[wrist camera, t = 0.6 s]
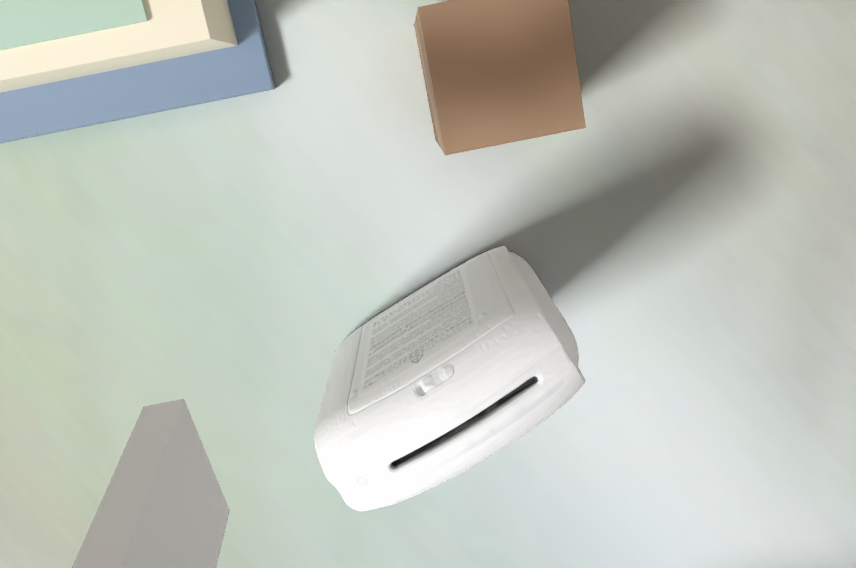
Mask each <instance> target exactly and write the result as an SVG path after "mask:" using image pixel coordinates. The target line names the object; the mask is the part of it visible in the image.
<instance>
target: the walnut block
mask: <svg viewBox="0 0 856 568" xmlns="http://www.w3.org/2000/svg"><path fill="white" fill-rule="evenodd" d="M414 26H415V31H416V37H417V42H418V47H419V53H420V58H421V64H422V69H423V74H424V80H425V85H426V91H427V96H428V101H429V107H430V112H431V117H432V123H433V128H434V134H435V139H436V141H437V143H438V144H439V146H440V148H441V149H442V151H443V152H444V154H445V155H449V154H454V153H459V152H464V151H469V150H474V149H479V148H485V147H490V146H495V145H500V144H505V143H510V142H515V141H520V140H525V139H531V138H536V137H541V136H546V135H551V134H556V133H561V132H566V131H572V130H577V129H582V128H586V126H585V119H584V112H583V105H582V97H581V90H580V83H579V76H578V68H577V61H576V54H575V47H574V39H573V32H572V25H571V18H570V10H569V3H568V0H452V1H447V2H442V3H437V4H432V5H427V6H422V7H418V10H417V15H416V19H415V24H414Z"/></svg>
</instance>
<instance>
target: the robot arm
mask: <svg viewBox="0 0 856 568" xmlns="http://www.w3.org/2000/svg"><path fill="white" fill-rule="evenodd" d="M229 511H230V510H229V508H228V506H227V503H226V501H225V498H224V496H223V493H222V491H221V488H220V486H219V484H218V481H217V479H216V476H215V474H214V471H213V469H212V466H211V464H210V462H209V459H208V457H207V454H206V452H205V449H204V447H203V444H202V442H201V440H200V437H199V435H198V432H197V430H196V427H195V425H194V422H193V420H192V418H191V415H190V413H189V410H188V408H187V405H186V403H185V400H184V399H181V400H176V401H171V402H166V403H161V404H155V405H150V406H145V407H143V409H142V411H141V413H140V416H139V418H138V420H137V422H136V425H135V427H134V429H133V431H132V434H131V436H130V438H129V440H128V443H127V445H126V447H125V449H124V452H123V454H122V456H121V458H120V461H119V463H118V465H117V467H116V470H115V472H114V474H113V476H112V479H111V481H110V483H109V485H108V488H107V490H106V492H105V494H104V497H103V499H102V501H101V503H100V506H99V508H98V510H97V512H96V515H95V517H94V519H93V521H92V524H91V526H90V528H89V530H88V533H87V535H86V537H85V539H84V542H83V544H82V546H81V548H80V551H79V553H78V555H77V558H76V560H75V562H74V564H73V567H72V568H216V566H217V562H218V558H219V553H220V549H221V545H222V541H223V536H224V532H225V528H226V523H227V519H228V515H229Z"/></svg>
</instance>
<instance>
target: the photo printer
mask: <svg viewBox="0 0 856 568" xmlns="http://www.w3.org/2000/svg"><path fill="white" fill-rule="evenodd" d="M578 360H579V358H578V348H577V343H576V340H575V337H574V335H573V333H572V331H571V329H570V328H569V326H568V324H567V323H566V321H565V319H564V318H563V316H562V315H561V313H560V311H559V310H558V308H557V307H556V305H555V304H554V302H553V300H552V299H551V297H550V296H549V294H548V292H547V291H546V289H545V288H544V286H543V284H542V283H541V281H540V280H539V278H538V277H537V275H536V274H535V272H534V271H533V269H532V268H531V266H530V265H529V264H528V263H527V261H525V260H524V259H523V258H522V257H520V256H519V255H517V254H515V253H513V252H510V251H508V249H507V248H506V246H500V247H497V248H494V249H491V250H489V251H486V252H484V253H482V254H480V255H478V256H476V257H474V258H472V259H470V260H468V261H466V262H465V263H463V264H461V265H459V266H458V267H456V268H454V269H452V270H451V271H449V272H448V273H446V274H444V275H442V276H441V277H439V278H437V279H436V280H434V281H432V282H431V283H429V284H427V285H426V286H424V287H422V288H421V289H419V290H417V291H416V292H414V293H412V294H411V295H409V296H408V297H406V298H404V299H403V300H401V301H400V302H398V303H396V304H394V305H393V306H392V307H390V308H388V309H387V310H385V311H384V312H382V313H380V314H379V315H377V316H376V317H374V318H373V319H371V320H370V321H368V322H367V323H365V324H364V325H362V326H361V327H359V328H358V329H357V330H355V331H354V332H353V333H351V334H350V335H349V336H348V337H347V338H346V339H345V340H344V341H343V342H342V343H341V344H340V345H339V346H338V347H337V349H336V351H335V355H334V359H333V363H332V367H331V371H330V375H329V378H328V382H327V386H326V390H325V393H324V397H323V400H322V404H321V408H320V412H319V415H318V419H317V422H316V425H315V430H314V439H315V447H316V451H317V455H318V458H319V461H320V464H321V466H322V468H323V471H324V474H325V476H326V478H327V479H328V480H329V481H330V482H331V483H332V484H333V485H334V486H335V487H336V488H337V489H338V491H339V492H340V493H341V495H342V497H343V499H344V501H345V503H346V504H347V505H348V506H350V507H351V508H353V509H355V510H357V511H367V510H373V509H377V508H381V507H385V506H389V505H392V504H395V503H398V502H400V501H403V500H406V499H408V498H411V497H414V496H416V495H418V494H420V493H422V492H425V491H427V490H429V489H431V488H433V487H435V486H437V485H439V484H441V483H443V482H445V481H447V480H449V479H451V478H453V477H455V476H457V475H459V474H461V473H462V472H464V471H466V470H468V469H470V468H471V467H473V466H475V465H477V464H478V463H480V462H482V461H483V460H485V459H487V458H489V457H490V456H492V455H493V454H495V453H497V452H498V451H500V450H502V449H503V448H505V447H506V446H508V445H509V444H511V443H512V442H514V441H516V440H517V439H519V438H520V437H522V436H523V435H525V434H526V433H528V432H529V431H531V430H532V429H533V428H535V427H536V426H538V425H539V424H540V423H542V422H543V421H544V420H546V419H547V418H548V417H550V416H551V415H552V414H553V413H555V412H556V411H557V410H558V409H559V408H561V407H562V406H563V405H564V404H565V403H566V402H567V401H568V400H569V399H570V398H571V397H572V396H573V395H574V394H575V393H576V392H577V391H578V390H579V389H580V388H581V387H582V385H583V384H584V383H585V379H584V377H583V375H582V373H581V372H580V370H579V368H578Z"/></svg>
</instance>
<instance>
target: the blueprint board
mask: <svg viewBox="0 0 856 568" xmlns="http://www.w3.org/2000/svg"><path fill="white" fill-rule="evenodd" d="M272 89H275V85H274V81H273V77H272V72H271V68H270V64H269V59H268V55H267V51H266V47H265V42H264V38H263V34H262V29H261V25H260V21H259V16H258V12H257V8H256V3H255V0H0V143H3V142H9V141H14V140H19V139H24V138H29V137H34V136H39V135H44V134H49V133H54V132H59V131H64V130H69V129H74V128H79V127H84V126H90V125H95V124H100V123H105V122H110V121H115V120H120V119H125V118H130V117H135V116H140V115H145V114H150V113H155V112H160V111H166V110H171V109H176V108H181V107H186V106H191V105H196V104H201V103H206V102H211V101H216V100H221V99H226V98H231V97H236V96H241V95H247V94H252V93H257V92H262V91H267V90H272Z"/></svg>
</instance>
